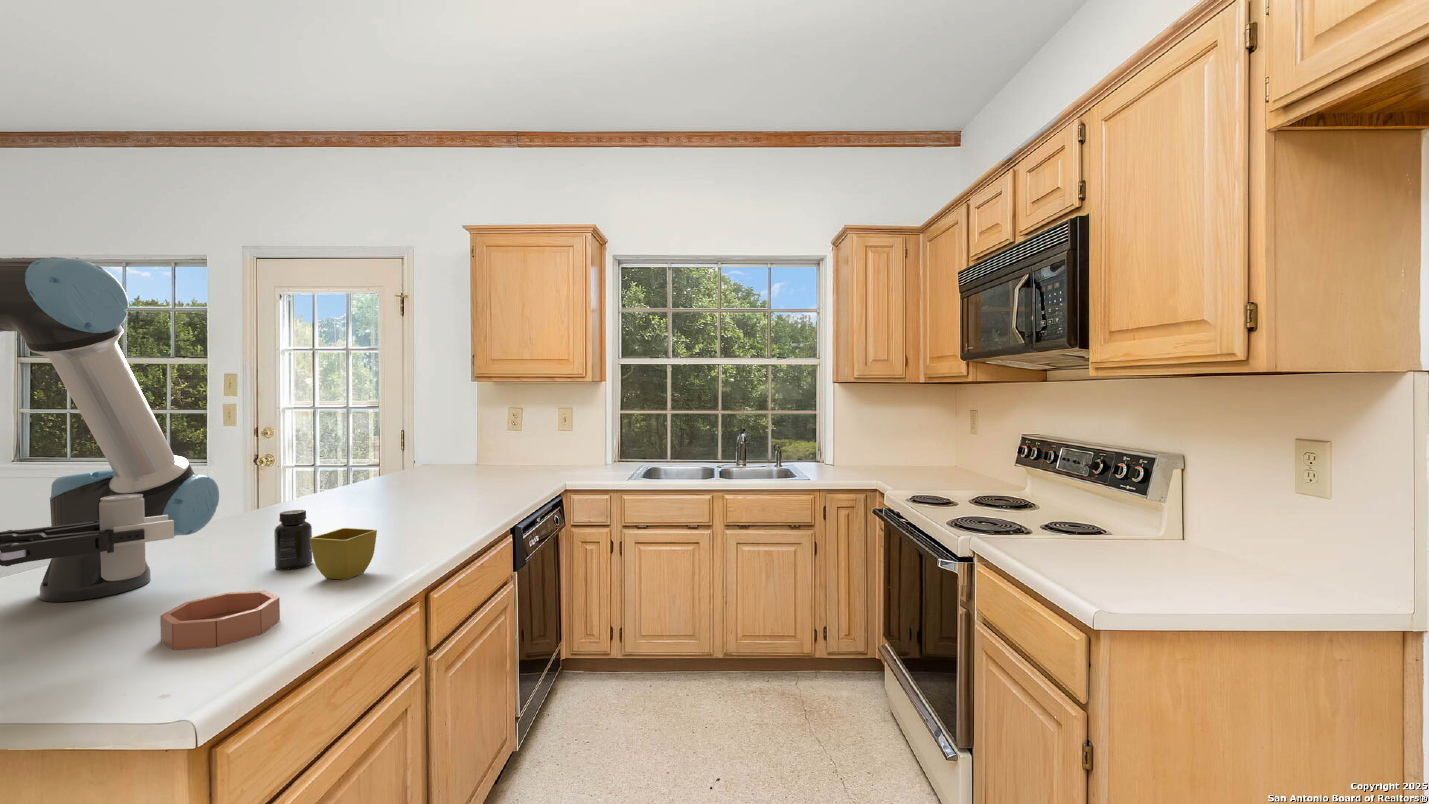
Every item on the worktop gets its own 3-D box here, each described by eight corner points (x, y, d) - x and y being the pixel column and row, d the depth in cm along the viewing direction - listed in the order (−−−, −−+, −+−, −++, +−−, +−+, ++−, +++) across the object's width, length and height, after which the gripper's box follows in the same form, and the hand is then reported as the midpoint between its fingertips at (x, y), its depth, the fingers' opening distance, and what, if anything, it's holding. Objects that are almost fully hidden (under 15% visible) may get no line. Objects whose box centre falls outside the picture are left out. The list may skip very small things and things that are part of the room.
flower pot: (346, 584, 122) (345, 539, 121) (309, 581, 123) (308, 537, 123) (378, 571, 130) (378, 529, 130) (343, 568, 132) (343, 527, 132)
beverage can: (121, 571, 93) (119, 493, 93) (154, 571, 93) (153, 493, 93) (91, 582, 88) (89, 499, 88) (127, 581, 89) (125, 499, 88)
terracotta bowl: (141, 652, 91) (140, 625, 91) (201, 617, 104) (200, 594, 104) (246, 644, 93) (246, 619, 93) (292, 611, 107) (291, 589, 107)
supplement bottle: (319, 563, 136) (319, 509, 136) (289, 571, 130) (288, 516, 129) (297, 560, 138) (296, 507, 138) (267, 568, 132) (266, 513, 132)
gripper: (-66, 572, 83) (162, 540, 101) (-81, 604, 71) (180, 561, 89) (-68, 518, 83) (161, 495, 100) (-84, 540, 71) (179, 510, 89)
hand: (170, 526), depth 95 cm, fingers closed on beverage can, 5 cm apart
